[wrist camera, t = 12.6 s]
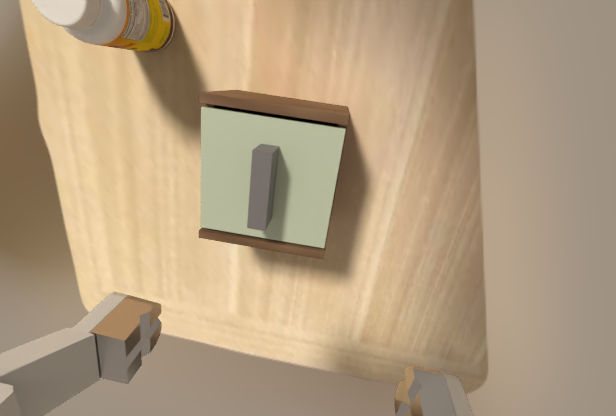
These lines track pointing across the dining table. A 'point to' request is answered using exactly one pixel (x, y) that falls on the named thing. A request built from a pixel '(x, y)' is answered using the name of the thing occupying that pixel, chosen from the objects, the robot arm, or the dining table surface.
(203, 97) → the walnut box
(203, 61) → the dining table surface
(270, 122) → the lid
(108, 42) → the supplement bottle
